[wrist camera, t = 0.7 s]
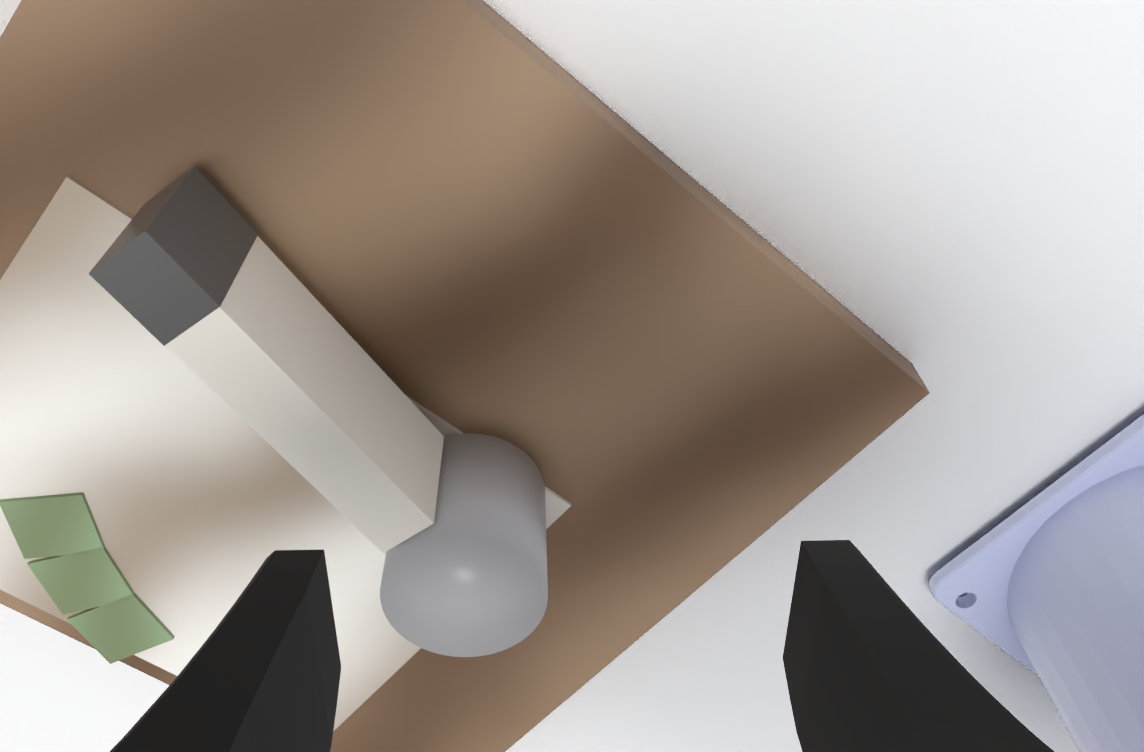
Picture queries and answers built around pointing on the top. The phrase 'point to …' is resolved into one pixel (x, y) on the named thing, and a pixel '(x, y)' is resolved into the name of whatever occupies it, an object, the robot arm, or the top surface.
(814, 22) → the top surface
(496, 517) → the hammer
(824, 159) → the top surface
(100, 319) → the brown tray
